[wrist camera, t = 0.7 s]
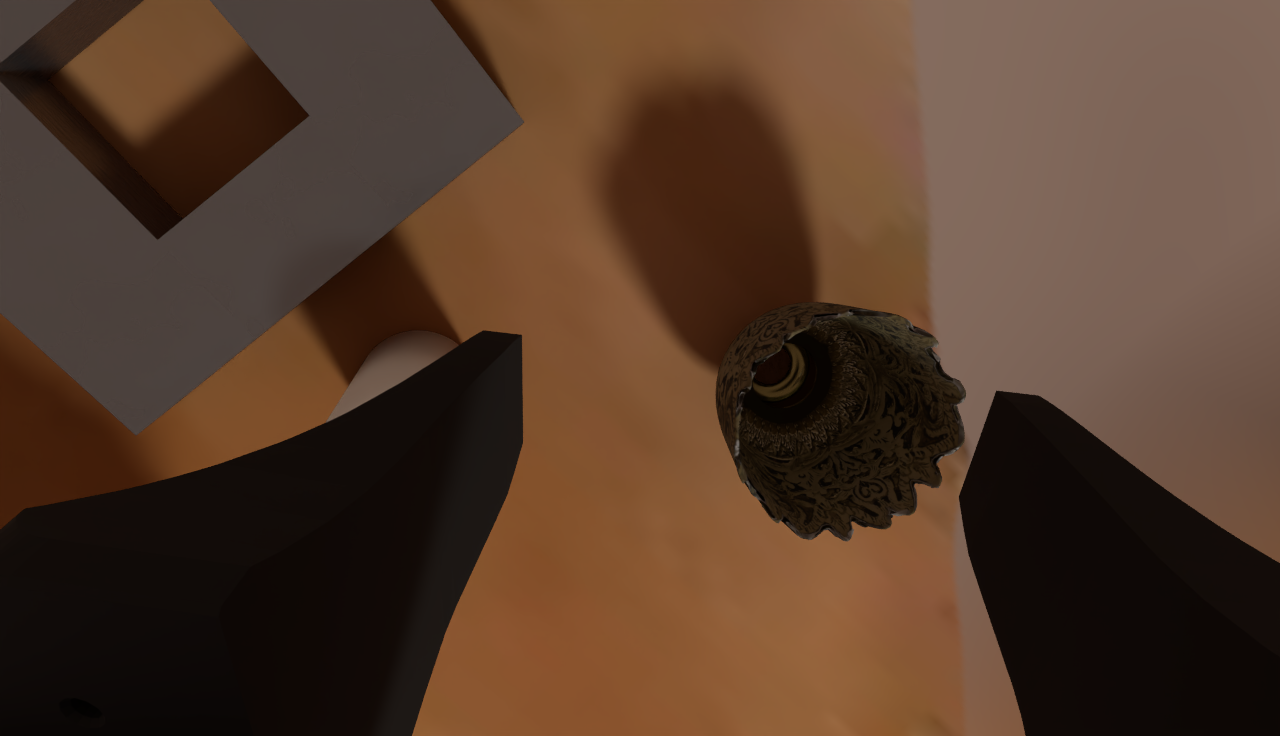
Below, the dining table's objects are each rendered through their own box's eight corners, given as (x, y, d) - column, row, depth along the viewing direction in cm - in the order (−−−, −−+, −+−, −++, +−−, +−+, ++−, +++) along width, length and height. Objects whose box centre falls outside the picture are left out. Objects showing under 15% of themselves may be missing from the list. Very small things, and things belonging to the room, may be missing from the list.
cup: (644, 340, 31) (690, 403, 23) (804, 234, 31) (903, 263, 23) (738, 484, 33) (809, 585, 26) (887, 386, 33) (1002, 458, 26)
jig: (172, 406, 29) (136, 435, 26) (-188, 71, 24) (-278, 61, 22) (521, 124, 28) (524, 121, 25) (218, -270, 24) (179, -326, 21)
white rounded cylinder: (414, 465, 31) (391, 553, 24) (332, 381, 29) (283, 449, 23) (504, 394, 31) (505, 463, 24) (425, 306, 29) (403, 353, 23)
